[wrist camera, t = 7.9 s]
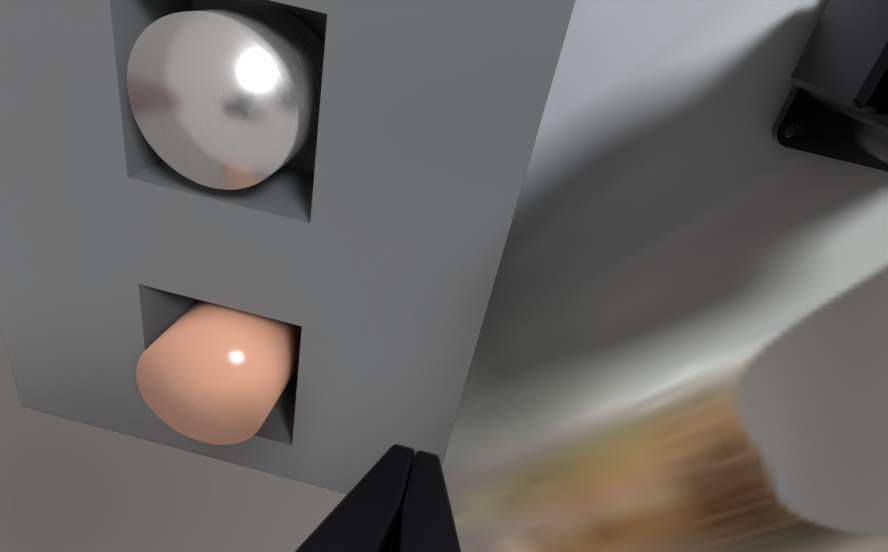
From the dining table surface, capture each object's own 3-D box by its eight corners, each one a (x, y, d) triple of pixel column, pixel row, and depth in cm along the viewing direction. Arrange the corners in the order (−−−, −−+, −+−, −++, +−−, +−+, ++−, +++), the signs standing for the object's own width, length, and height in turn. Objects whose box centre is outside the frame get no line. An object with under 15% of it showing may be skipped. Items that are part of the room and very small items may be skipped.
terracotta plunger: (311, 298, 21) (267, 359, 18) (303, 388, 24) (263, 458, 20) (195, 268, 22) (129, 323, 18) (199, 361, 24) (141, 425, 20)
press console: (570, -20, 17) (581, -21, 13) (445, 429, 27) (427, 515, 23) (31, -144, 18) (-134, -185, 13) (103, 339, 28) (21, 405, 23)
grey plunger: (345, 24, 17) (296, 35, 14) (331, 166, 20) (286, 206, 16) (202, -10, 17) (118, -8, 14) (205, 135, 20) (134, 168, 16)
